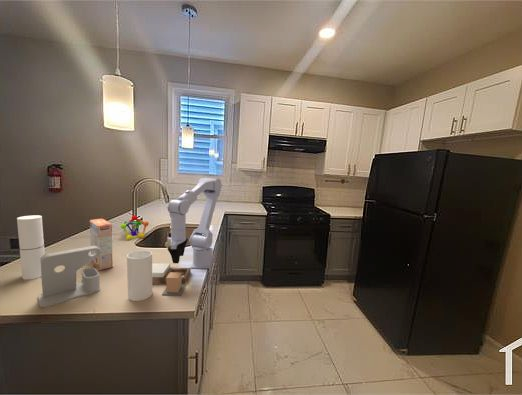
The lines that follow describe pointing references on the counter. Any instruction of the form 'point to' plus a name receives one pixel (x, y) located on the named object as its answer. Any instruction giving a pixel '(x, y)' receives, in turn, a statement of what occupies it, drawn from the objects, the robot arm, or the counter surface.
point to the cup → (139, 275)
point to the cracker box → (101, 243)
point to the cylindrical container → (31, 245)
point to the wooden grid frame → (182, 270)
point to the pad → (173, 292)
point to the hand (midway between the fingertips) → (178, 259)
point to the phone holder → (67, 275)
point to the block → (173, 282)
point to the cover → (159, 269)
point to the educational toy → (133, 234)
